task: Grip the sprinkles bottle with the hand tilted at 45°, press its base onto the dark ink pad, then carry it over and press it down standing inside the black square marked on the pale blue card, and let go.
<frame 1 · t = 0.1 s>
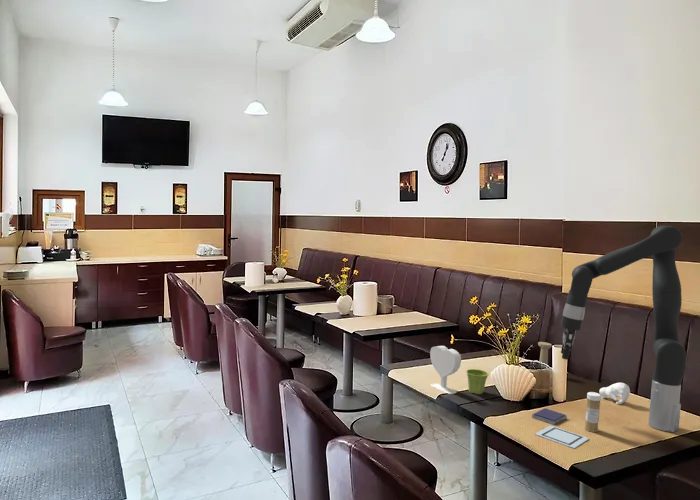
hand: (564, 356, 207), 22 cm above the table, tool pointing down, fingers open, 8 cm apart
ink pad: (549, 417, 202), on the table
sprinkles bottle: (591, 430, 193), on the table
handle: (542, 374, 259), on the table
print card: (561, 436, 186), on the table
heart sculpture: (443, 389, 231), on the table
white bear figurine: (612, 401, 225), on the table
plant pot: (476, 392, 228), on the table
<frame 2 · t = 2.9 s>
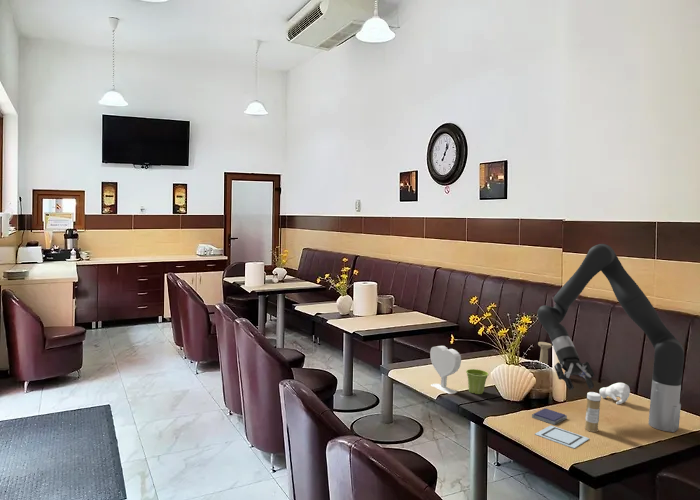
hand: (581, 388, 199), 13 cm above the table, tool tilted 45°, fingers open, 8 cm apart
nothing on the table moved.
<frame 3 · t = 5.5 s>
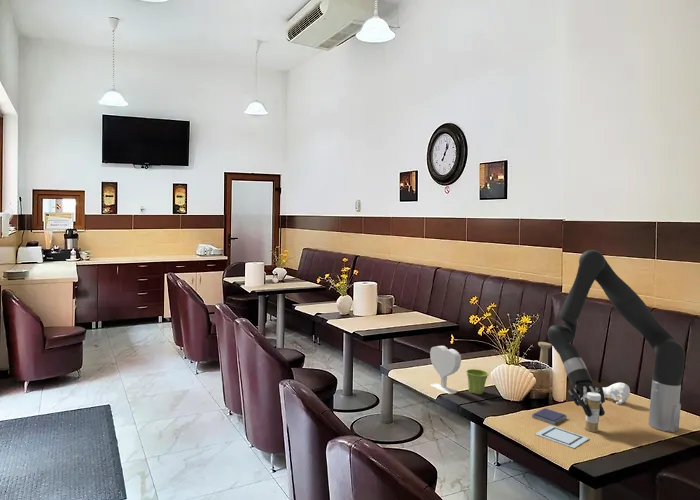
hand: (596, 415, 191), 6 cm above the table, tool tilted 45°, fingers closed on sprinkles bottle, 4 cm apart
sprinkles bottle: (591, 430, 193), on the table, touching gripper
everything else where it was.
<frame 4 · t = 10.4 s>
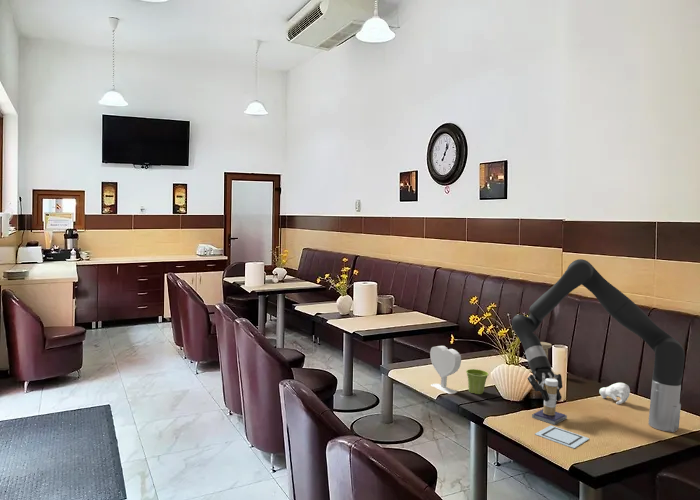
hand: (553, 400, 200), 8 cm above the table, tool tilted 45°, fingers closed on sprinkles bottle, 4 cm apart
sprinkles bottle: (549, 414, 202), point 1 cm above the table, touching gripper, ink pad
everything else where it was.
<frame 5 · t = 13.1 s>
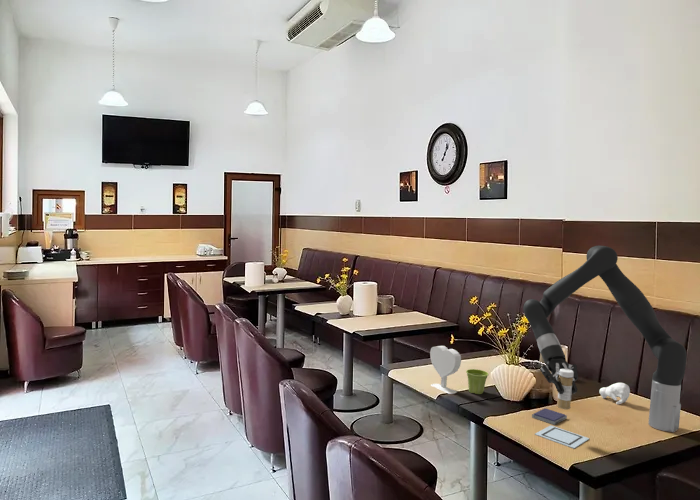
hand: (568, 392, 182), 16 cm above the table, tool tilted 45°, fingers closed on sprinkles bottle, 4 cm apart
sprinkles bottle: (563, 408, 185), point 10 cm above the table, touching gripper
everything else where it was.
when the fingers open (6 cm above the table, at t = 15.2 s): sprinkles bottle stays where it is, resting on print card.
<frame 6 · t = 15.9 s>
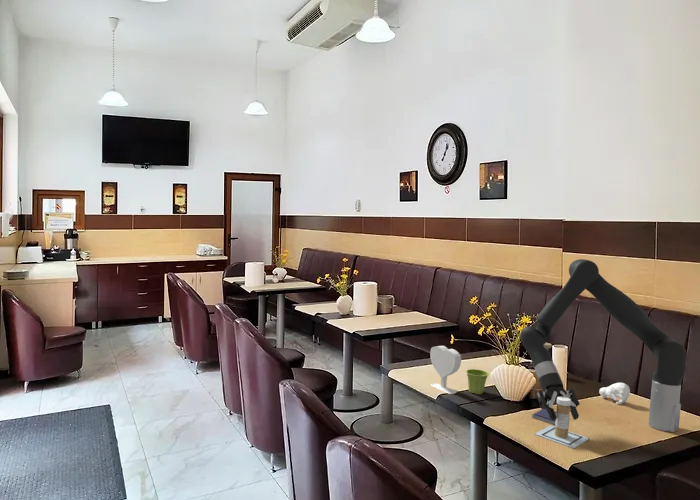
hand: (565, 419, 184), 7 cm above the table, tool tilted 45°, fingers open, 8 cm apart
sprinkles bottle: (561, 436, 186), resting on print card
everything else where it was.
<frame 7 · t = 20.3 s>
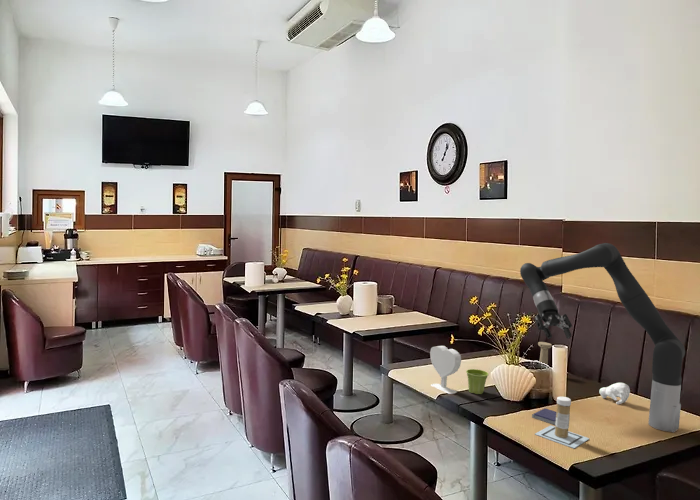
hand: (559, 337, 211), 29 cm above the table, tool tilted 45°, fingers open, 8 cm apart
nothing on the table moved.
at the end: sprinkles bottle inside the target area on the print card (0.3 cm from its centre), point 0.1 cm above the print card's base; sprinkles bottle tilted 0°; the gripper is holding nothing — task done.
